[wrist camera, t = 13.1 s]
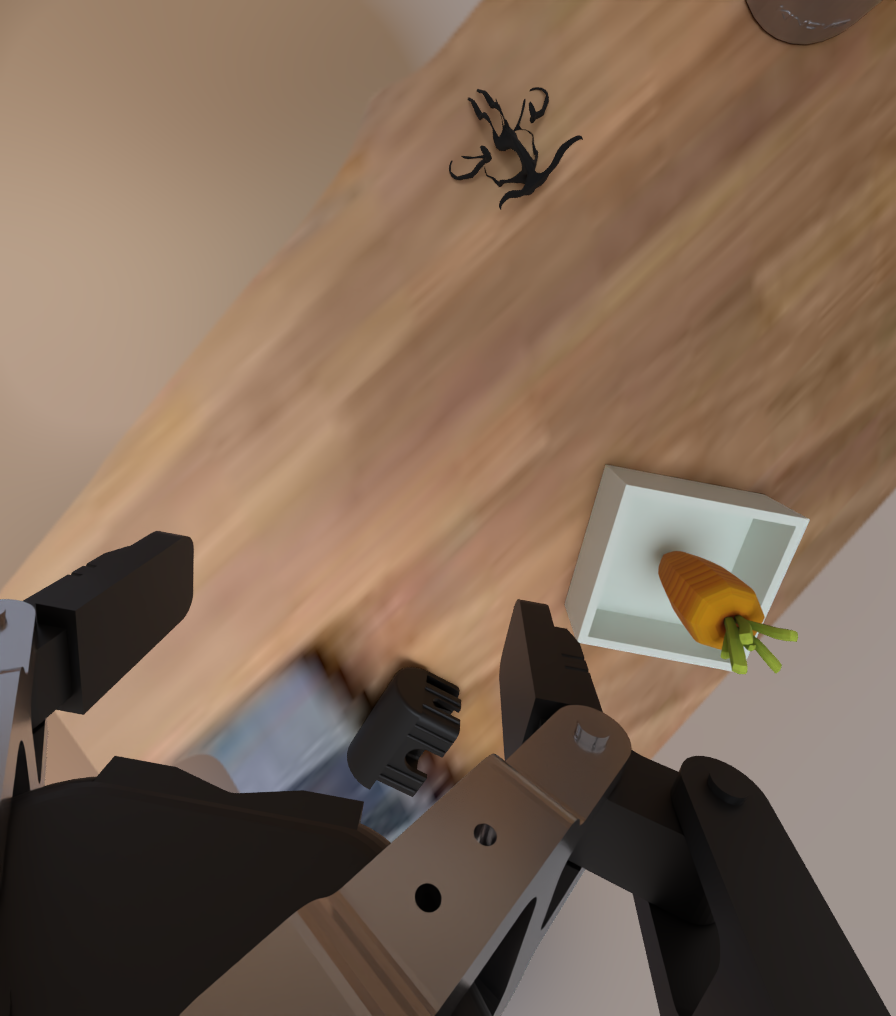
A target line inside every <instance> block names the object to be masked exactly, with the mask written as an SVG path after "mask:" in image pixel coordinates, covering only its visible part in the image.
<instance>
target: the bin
mask: <svg viewBox="0 0 896 1016" xmlns="http://www.w3.org/2000/svg"><path fill="white" fill-rule="evenodd" d="M809 520H810V519H808V518H806V517H804V516H803V515H801V514H799V513H797V512H795V511H793V510H792V509H790V508H788V507H786V506H784V505H783V504H781V503H779V502H777V501H775V500H773V499H772V498H770V497H768V496H766V495H764V494H759V493H754V492H749V491H743V490H738V489H733V488H727V487H722V486H717V485H712V484H706V483H701V482H696V481H691V480H685V479H680V478H675V477H670V476H664V475H659V474H654V473H648V472H643V471H638V470H633V469H627V468H622V467H617V466H612V465H605V468H604V472H603V475H602V478H601V482H600V485H599V489H598V492H597V495H596V499H595V502H594V506H593V509H592V512H591V516H590V519H589V523H588V526H587V529H586V533H585V536H584V540H583V543H582V546H581V550H580V553H579V557H578V560H577V563H576V567H575V570H574V574H573V577H572V580H571V584H570V587H569V591H568V594H567V597H566V601H565V604H564V605H565V608H566V611H567V614H568V617H569V620H570V623H571V626H572V629H573V632H574V635H575V638H576V640H577V641H578V642H579V643H583V644H588V645H594V646H599V647H604V648H610V649H615V650H620V651H626V652H631V653H636V654H642V655H647V656H653V657H658V658H663V659H669V660H674V661H679V662H685V663H690V664H695V665H701V666H706V667H711V668H717V669H722V670H727V671H732V668H731V664H730V658H729V659H726V660H725V659H722V658H721V650H720V649H716V648H713V647H710V646H706V645H703V644H700V643H698V642H696V641H695V640H694V639H693V638H692V636H691V635H690V633H689V632H688V631H687V629H686V628H685V627H684V625H683V624H682V622H681V621H680V619H679V618H678V616H677V615H676V613H675V612H674V610H673V608H672V606H671V603H670V601H669V599H668V597H667V595H666V592H665V590H664V588H663V586H662V583H661V581H660V578H659V575H658V567H659V564H660V561H661V559H662V557H663V555H664V554H666V553H668V552H673V551H682V552H686V553H689V554H692V555H695V556H699V557H701V558H704V559H706V560H709V561H711V562H713V563H715V564H717V565H720V566H722V567H723V568H725V569H726V570H728V571H729V572H730V573H732V574H733V575H735V576H736V577H738V578H739V579H740V580H742V581H743V582H744V583H745V584H747V585H748V586H749V587H751V588H752V589H753V590H754V592H755V594H756V596H757V599H758V601H759V604H760V606H761V609H762V611H763V614H764V616H765V618H766V615H767V613H768V611H769V609H770V607H771V604H772V602H773V600H774V598H775V596H776V593H777V591H778V589H779V587H780V585H781V582H782V580H783V578H784V576H785V573H786V571H787V569H788V567H789V565H790V562H791V560H792V558H793V556H794V554H795V551H796V549H797V547H798V545H799V542H800V540H801V538H802V536H803V534H804V531H805V529H806V527H807V525H808V523H809ZM764 620H765V619H764ZM764 620H763V622H764ZM763 622H762V624H763ZM758 633H759V632H757V633H756V635H755V637H756V638H757V635H758ZM743 647H744V646H743ZM744 651H745V655H746V660H747V658H748V655H749V653H750V651H748V650H747V649H746V648H745V647H744Z"/></svg>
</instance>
